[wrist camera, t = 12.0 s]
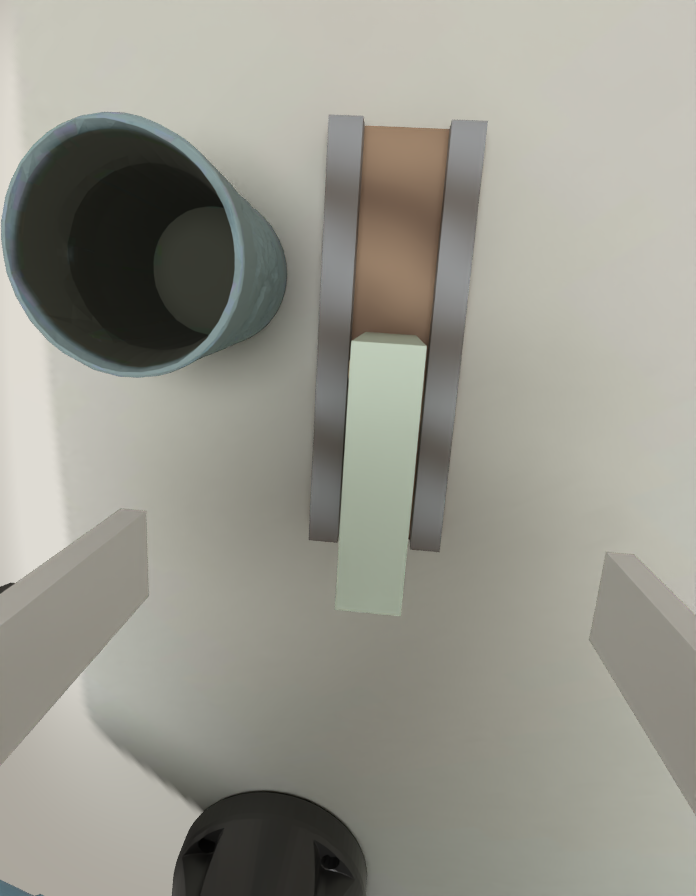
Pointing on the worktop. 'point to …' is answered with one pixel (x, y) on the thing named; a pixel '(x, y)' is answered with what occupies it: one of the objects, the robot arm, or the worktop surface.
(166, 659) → the worktop surface
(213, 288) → the teal cup
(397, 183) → the track base
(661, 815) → the worktop surface
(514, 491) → the worktop surface
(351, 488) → the door panel
